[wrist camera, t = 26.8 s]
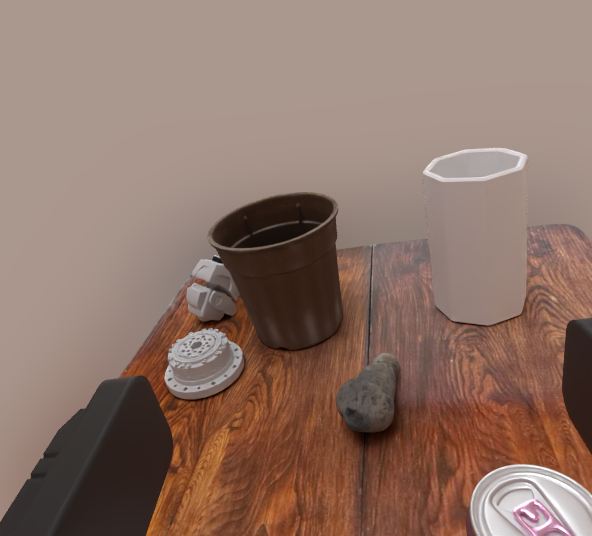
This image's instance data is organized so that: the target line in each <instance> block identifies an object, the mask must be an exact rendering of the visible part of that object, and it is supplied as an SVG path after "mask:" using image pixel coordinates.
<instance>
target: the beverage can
mask: <svg viewBox="0 0 592 536" xmlns="http://www.w3.org/2000/svg"><path fill="white" fill-rule="evenodd" d="M466 531H467V536H592V494H591V493H590V492H589V491H588V490H587V489H585V488H584V487H583V486H582V485H580V484H579V483H578V482H576V481H575V480H573V479H571V478H570V477H568V476H566V475H564V474H562V473H560V472H557V471H555V470H552V469H549V468H546V467H542V466H537V465H529V464H517V465H509V466H505V467H501V468H498V469H496V470H494V471H492V472H490V473H489V474H487V475H486V476H485V477H483V478H482V479H481V480H480V481H479V483H478V484H477V485H476V487H475V489H474V491H473V493H472V496H471V499H470V505H469V508H468V511H467V517H466Z"/></svg>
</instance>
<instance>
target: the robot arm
mask: <svg viewBox="0 0 592 536" xmlns="http://www.w3.org/2000/svg"><path fill="white" fill-rule="evenodd" d="M562 392H563V398H564V403H565V406H566V409H567V412H568V415H569V417H570V419H571V421H572V423H573V424H574V426H575V428H576V429H577V431H578V433H579V434H580V436H581V438H582V439H583V441H584V442H585V444H586V446H587V447H588V449H589V451H590V452H591V454H592V318H586V319H579V320H572V321H570V322H569V323H568V325H567V328H566V339H565V353H564V367H563V381H562ZM172 452H173V440H172V433H171V430H170V427H169V425H168V423H167V421H166V418H165V416H164V414H163V412H162V409H161V407H160V405H159V403H158V400H157V398H156V396H155V394H154V392H153V389H152V387H151V385H150V383H149V381H148V380H147V378H145V377H144V376H141V375H140V376H132V377H125V378H117V379H111V380H105V381H103V382H102V383H101V384H100V386H99V387H98V389H97V390H96V392H95V394H94V395H93V397H92V399H91V400H90V402H89V404H88V405H87V407H86V408H85V409H80V410H79V411H78V412H77V413H76V414H75V415H74V416H73V417H72V418H71V419H70V420H69V421H68V422H67V423H66V424H64V425H63V426H62V427H61V428H60V429H59V430H58V432H57V433H56V435H55V436H54V438H53V440H52V441H51V443H50V444H49V446H48V448H47V449H46V451H45V452H44V458H43V459H40V460H39V462H38V463H37V465H36V466H35V468H34V470H33V471H32V473H31V479H28V480H27V481H26V482H25V484H24V486H23V487H22V489H21V490H20V492H19V493H18V495H17V497H16V498H15V500H14V501H13V503H12V504H11V506H10V508H9V509H8V511H7V512H6V514H5V515H4V517H3V519H2V521H1V522H0V536H146V533H147V530H148V527H149V524H150V521H151V518H152V515H153V513H154V510H155V507H156V504H157V501H158V498H159V495H160V492H161V489H162V486H163V483H164V480H165V477H166V474H167V471H168V468H169V465H170V462H171V459H172Z"/></svg>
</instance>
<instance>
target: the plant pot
mask: <svg viewBox="0 0 592 536" xmlns="http://www.w3.org/2000/svg"><path fill="white" fill-rule="evenodd" d="M337 213H338V204H337V202H336V201H335V200H334V199H333V198H331V197H329V196H327V195H324V194H319V193H308V192H298V193H288V194H281V195H276V196H271V197H268V198H264V199H261V200H258V201H256V202H252V203H249V204H247V205H244V206H242V207H239V208H237V209H235V210H233V211H231V212H230V213H228V214H226V215H225V216H223V217H222V218H221V219H219V220H218V221H217V222H216V223H215V224H214V225H213V226H212V227H211V229H210V230H209V232H208V240H209V242H210V244H211V245H212V246H213V247H214V248H216V250H217V252H218V254H219V256H220V258H221V260H222V263H223V265H224V267H225V268H226V269H227V270H228V271H229V272H230V274H231V276H232V279H233V281H234V283H235V285H236V287H237V289H238V292H239V294H240V296H241V298H242V300H243V303H244V305H245V307H246V309H247V312H248V314H249V316H250V318H251V321H252V323H253V325H254V328H255V330H256V332H257V335H258V337H259V339H260V340H261V341H262V342H263V343H264V344H265V345H267V346H268V347H271V348H274V349H278V348H279V347H283V348H287V349H289V350H297V349H302V348H306V347H310V346H313V345H315V344H318V343H320V342H322V341H324V340H325V339H327V338H328V337H330V336H331V335H332V334H333V333H335V332H336V331H337V329H338V327H339V324H340V321H341V320H342V319H343V309H342V301H341V292H340V283H339V274H338V264H337V254H336V245H335V242H336V239H337V229H336V215H337Z"/></svg>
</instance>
